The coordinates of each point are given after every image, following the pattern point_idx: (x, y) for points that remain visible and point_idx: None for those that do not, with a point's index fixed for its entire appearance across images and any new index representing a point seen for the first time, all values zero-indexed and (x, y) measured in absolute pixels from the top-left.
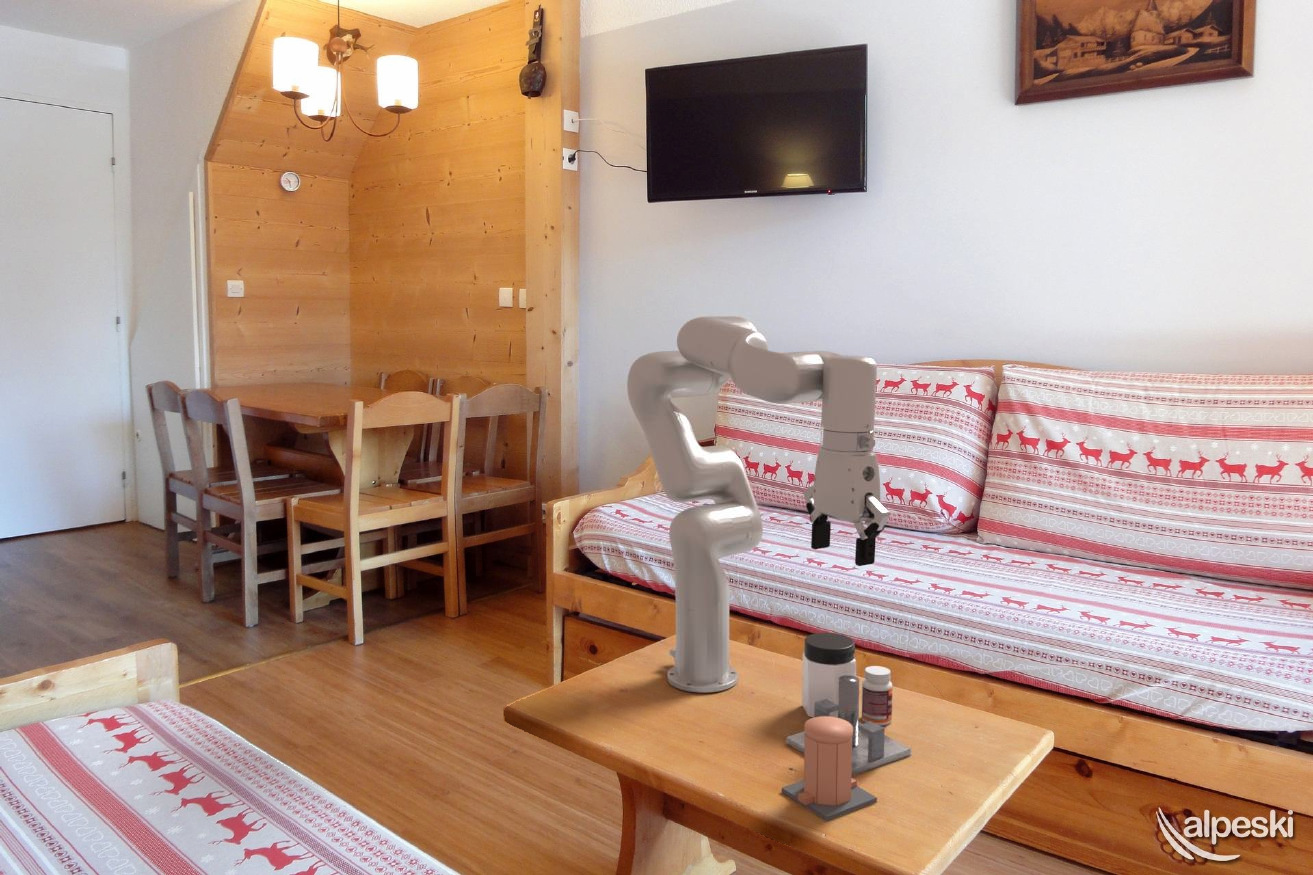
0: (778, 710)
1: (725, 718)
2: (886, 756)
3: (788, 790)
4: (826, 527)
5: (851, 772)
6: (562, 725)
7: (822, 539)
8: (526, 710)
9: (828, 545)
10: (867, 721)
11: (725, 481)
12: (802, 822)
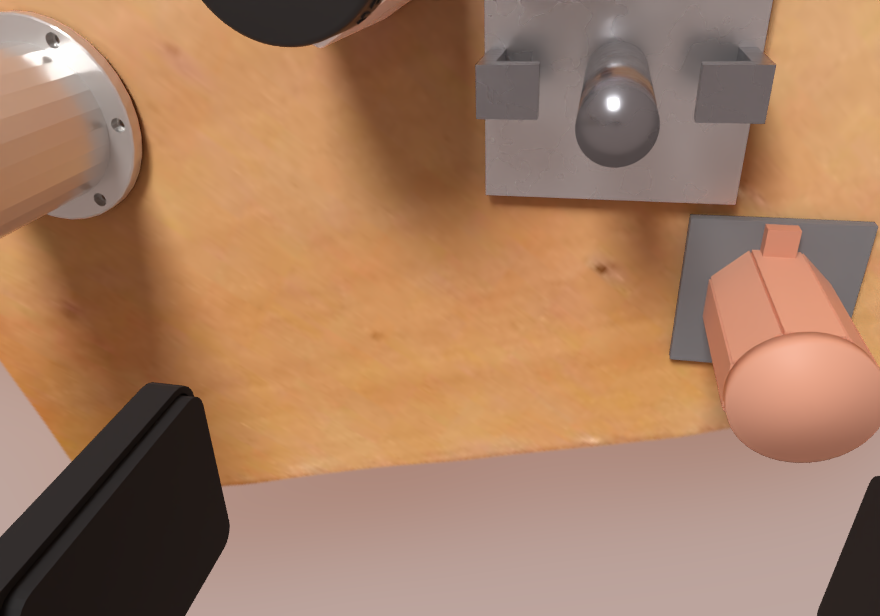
0: (308, 66)
1: (294, 220)
2: (762, 37)
3: (690, 357)
4: (75, 613)
5: (821, 282)
6: None
7: (174, 535)
8: None
9: (196, 413)
10: None
11: None
12: None
